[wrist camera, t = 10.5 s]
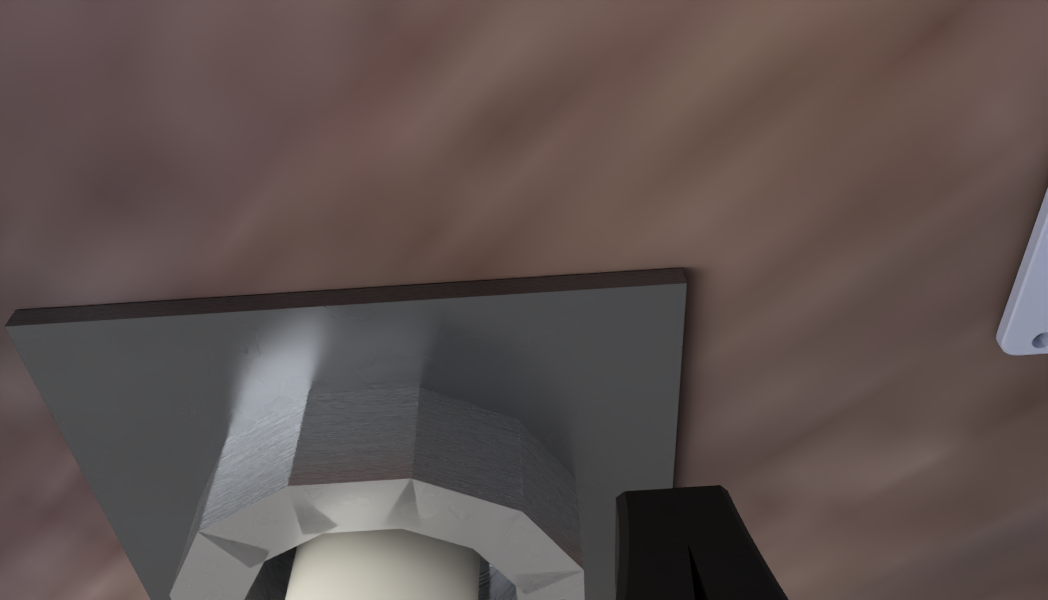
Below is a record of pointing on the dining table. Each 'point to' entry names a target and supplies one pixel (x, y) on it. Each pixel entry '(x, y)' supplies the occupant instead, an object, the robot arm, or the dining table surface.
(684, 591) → the robot arm
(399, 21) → the dining table surface
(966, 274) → the dining table surface
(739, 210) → the dining table surface
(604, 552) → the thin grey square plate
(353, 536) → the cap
